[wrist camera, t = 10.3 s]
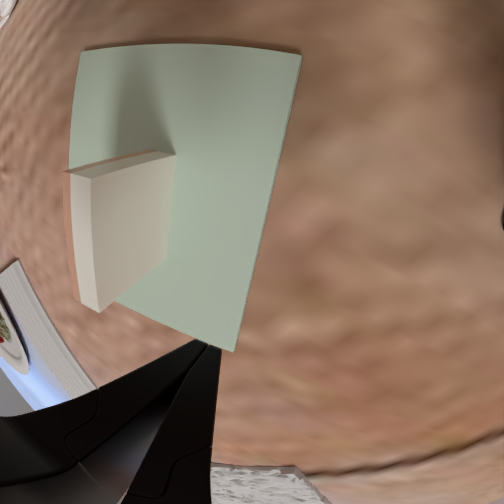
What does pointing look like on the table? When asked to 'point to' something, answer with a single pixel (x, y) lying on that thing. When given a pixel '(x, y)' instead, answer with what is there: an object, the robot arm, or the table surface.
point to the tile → (116, 223)
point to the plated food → (11, 343)
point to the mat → (193, 164)
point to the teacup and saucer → (6, 9)
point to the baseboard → (43, 331)
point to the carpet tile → (262, 485)
